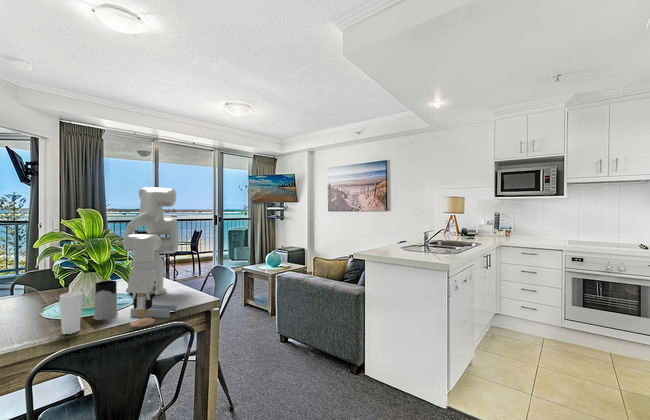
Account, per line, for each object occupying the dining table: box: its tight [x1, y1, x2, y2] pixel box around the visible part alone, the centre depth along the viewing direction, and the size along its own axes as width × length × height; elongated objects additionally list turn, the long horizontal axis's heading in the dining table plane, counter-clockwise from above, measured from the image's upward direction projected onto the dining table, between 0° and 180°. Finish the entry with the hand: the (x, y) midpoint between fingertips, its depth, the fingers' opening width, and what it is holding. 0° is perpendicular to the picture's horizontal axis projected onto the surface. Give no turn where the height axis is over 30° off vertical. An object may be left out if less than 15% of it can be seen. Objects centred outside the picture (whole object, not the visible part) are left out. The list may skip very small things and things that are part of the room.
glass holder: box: [92, 280, 119, 321], centre depth 131 cm, size 9×14×15 cm, turn 20°
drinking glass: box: [58, 291, 84, 336], centre depth 112 cm, size 7×7×15 cm
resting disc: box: [129, 317, 156, 328], centre depth 123 cm, size 9×9×1 cm
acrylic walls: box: [130, 303, 178, 319], centre depth 132 cm, size 17×7×4 cm, turn 89°
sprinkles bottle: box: [136, 293, 149, 318], centre depth 123 cm, size 5×5×13 cm
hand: (142, 307), depth 123 cm, fingers closed on sprinkles bottle, 4 cm apart
